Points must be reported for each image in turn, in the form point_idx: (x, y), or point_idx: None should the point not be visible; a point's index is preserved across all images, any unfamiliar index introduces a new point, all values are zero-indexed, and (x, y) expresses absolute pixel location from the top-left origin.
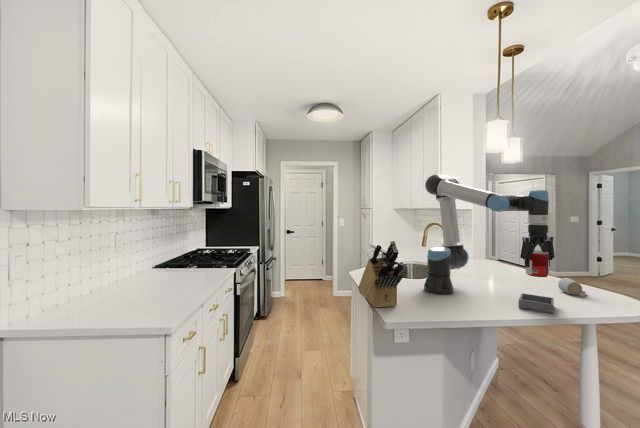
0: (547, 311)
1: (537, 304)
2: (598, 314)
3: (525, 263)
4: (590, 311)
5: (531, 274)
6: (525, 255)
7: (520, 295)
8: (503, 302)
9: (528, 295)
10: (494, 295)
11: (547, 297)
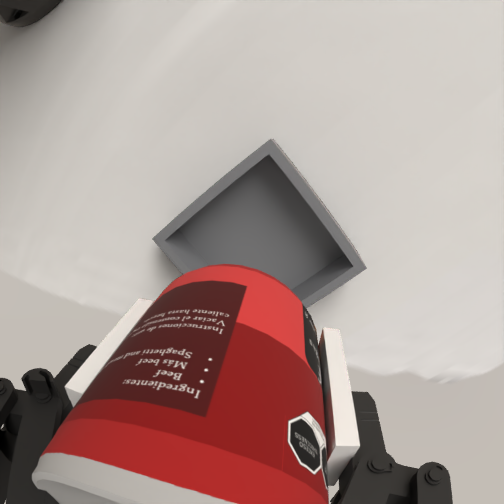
0: None
1: None
2: (412, 357)
3: (69, 373)
4: (425, 330)
5: None
6: (9, 446)
7: (219, 180)
8: (163, 136)
9: (286, 175)
10: (214, 23)
11: (343, 251)
